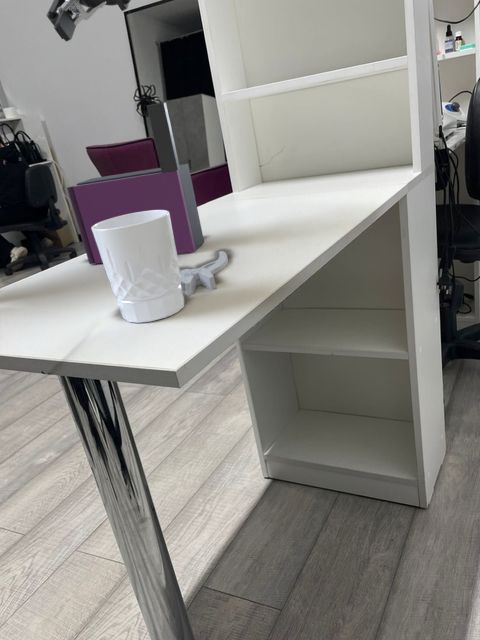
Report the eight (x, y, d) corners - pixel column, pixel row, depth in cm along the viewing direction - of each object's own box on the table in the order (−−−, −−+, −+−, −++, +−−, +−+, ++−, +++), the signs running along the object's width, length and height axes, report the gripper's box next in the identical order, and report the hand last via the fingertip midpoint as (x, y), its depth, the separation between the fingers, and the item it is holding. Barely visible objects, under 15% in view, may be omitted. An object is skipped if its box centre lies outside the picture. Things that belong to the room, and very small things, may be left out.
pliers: (222, 244, 76) (241, 271, 62) (225, 255, 76) (243, 284, 63) (153, 259, 74) (156, 289, 61) (155, 270, 75) (159, 302, 62)
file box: (99, 262, 85) (76, 183, 80) (111, 253, 89) (90, 178, 84) (196, 250, 81) (178, 167, 76) (204, 241, 86) (188, 163, 81)
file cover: (88, 264, 83) (45, 123, 75) (91, 262, 84) (49, 123, 76) (195, 251, 80) (163, 102, 72) (197, 249, 81) (166, 102, 73)
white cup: (202, 307, 57) (181, 212, 53) (132, 332, 54) (104, 232, 50) (173, 293, 63) (152, 207, 59) (108, 314, 60) (82, 225, 56)
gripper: (50, -42, 74) (22, 14, 65) (136, -96, 70) (119, -43, 60) (85, 11, 80) (65, 70, 71) (168, -35, 75) (157, 22, 66)
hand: (90, 18), depth 66 cm, fingers open, 8 cm apart
